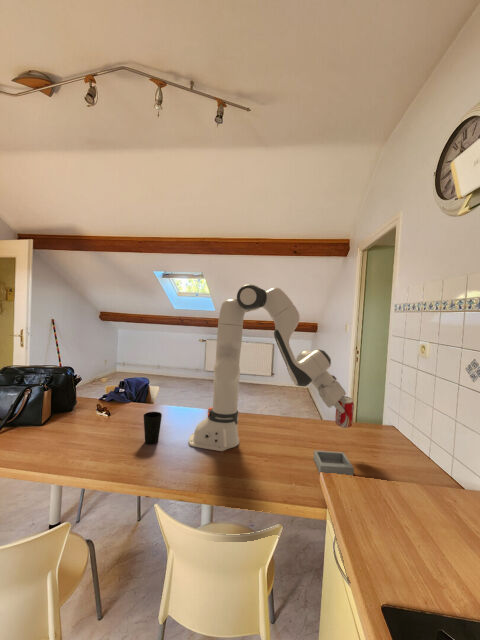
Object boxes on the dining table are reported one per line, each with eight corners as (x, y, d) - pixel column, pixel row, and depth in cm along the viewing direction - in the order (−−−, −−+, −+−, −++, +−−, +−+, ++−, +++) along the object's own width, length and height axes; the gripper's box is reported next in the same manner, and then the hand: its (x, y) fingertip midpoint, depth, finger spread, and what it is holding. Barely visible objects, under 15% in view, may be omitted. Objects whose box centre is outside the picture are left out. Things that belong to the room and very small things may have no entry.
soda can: (350, 431, 122) (353, 405, 119) (333, 426, 126) (335, 401, 123) (353, 422, 128) (355, 397, 126) (336, 418, 132) (338, 394, 129)
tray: (320, 475, 108) (320, 465, 108) (313, 458, 120) (313, 450, 120) (353, 477, 107) (353, 468, 107) (343, 460, 119) (343, 452, 119)
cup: (164, 442, 128) (165, 415, 128) (148, 447, 122) (149, 419, 122) (154, 436, 133) (155, 410, 133) (139, 441, 128) (140, 414, 127)
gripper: (322, 383, 119) (345, 412, 114) (335, 375, 136) (356, 400, 131) (311, 391, 122) (333, 420, 117) (325, 383, 139) (345, 408, 134)
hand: (345, 410), depth 124 cm, fingers closed on soda can, 5 cm apart
